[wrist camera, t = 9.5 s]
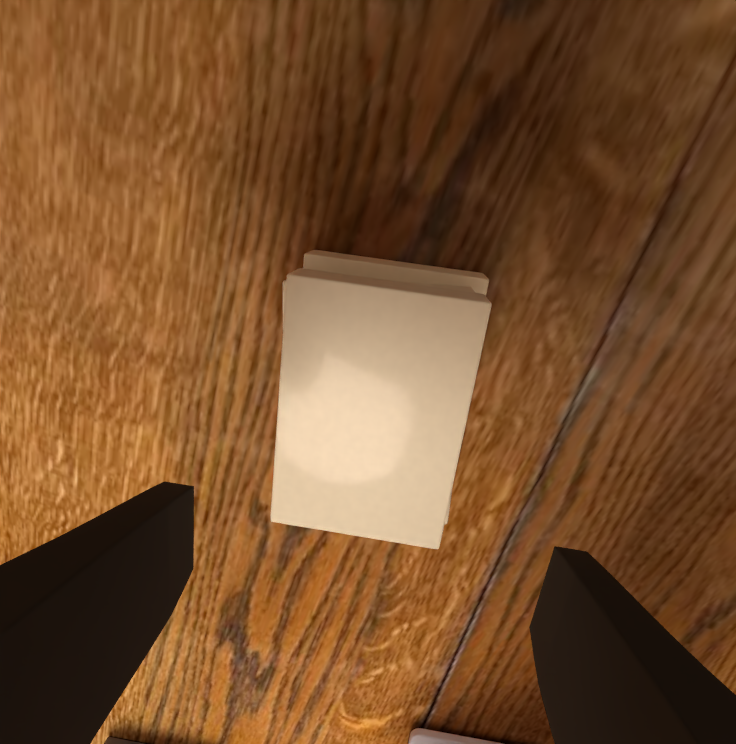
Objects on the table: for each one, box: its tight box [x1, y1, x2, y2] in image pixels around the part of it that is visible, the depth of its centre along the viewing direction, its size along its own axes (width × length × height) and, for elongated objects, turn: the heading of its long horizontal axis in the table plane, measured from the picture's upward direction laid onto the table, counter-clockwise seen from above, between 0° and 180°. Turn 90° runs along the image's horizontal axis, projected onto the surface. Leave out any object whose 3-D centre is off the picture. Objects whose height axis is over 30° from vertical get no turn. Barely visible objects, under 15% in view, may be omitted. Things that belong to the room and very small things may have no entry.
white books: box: [283, 250, 489, 524], centre depth 17 cm, size 9×6×3 cm
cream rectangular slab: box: [270, 268, 492, 549], centre depth 15 cm, size 8×6×1 cm
